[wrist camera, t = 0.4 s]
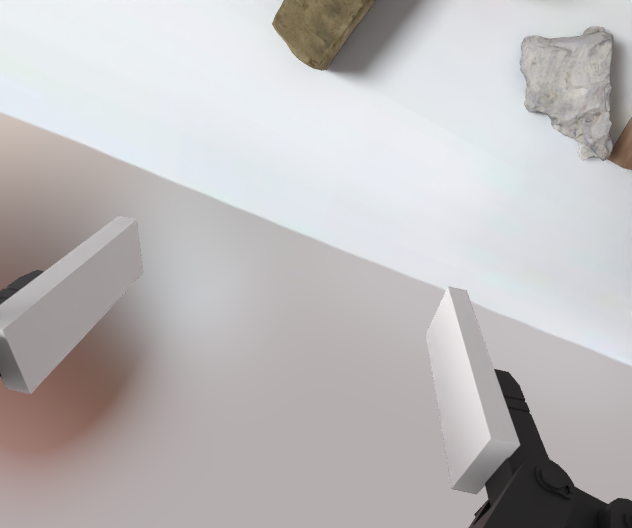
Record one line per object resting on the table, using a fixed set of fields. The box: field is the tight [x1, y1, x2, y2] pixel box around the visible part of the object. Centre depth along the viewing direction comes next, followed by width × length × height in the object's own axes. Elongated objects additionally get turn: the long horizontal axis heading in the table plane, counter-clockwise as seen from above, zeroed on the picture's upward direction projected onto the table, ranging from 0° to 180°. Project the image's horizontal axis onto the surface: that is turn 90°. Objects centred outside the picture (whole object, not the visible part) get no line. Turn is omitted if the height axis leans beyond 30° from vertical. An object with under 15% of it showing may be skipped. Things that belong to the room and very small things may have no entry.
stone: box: [520, 27, 613, 161], centre depth 33 cm, size 6×12×4 cm, turn 22°
